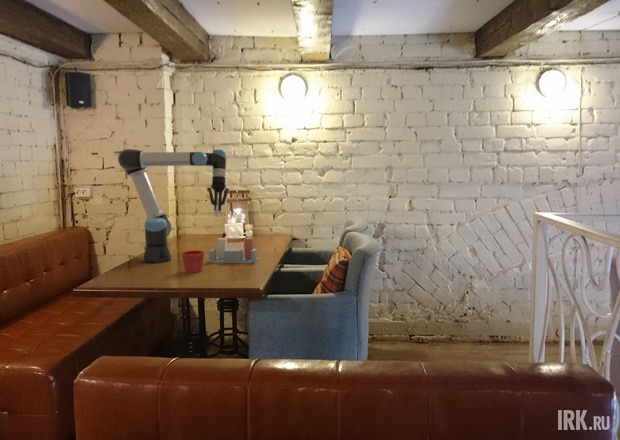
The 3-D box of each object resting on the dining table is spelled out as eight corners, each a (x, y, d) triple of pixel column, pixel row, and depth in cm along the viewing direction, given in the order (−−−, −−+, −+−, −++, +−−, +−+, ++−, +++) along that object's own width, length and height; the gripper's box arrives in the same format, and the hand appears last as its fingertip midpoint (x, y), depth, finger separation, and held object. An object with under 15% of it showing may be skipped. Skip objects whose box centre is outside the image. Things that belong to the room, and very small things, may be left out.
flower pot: (199, 273, 247) (198, 254, 246) (178, 273, 249) (178, 253, 248) (208, 269, 258) (207, 250, 256) (188, 268, 260) (187, 250, 259)
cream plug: (218, 258, 281) (217, 239, 280) (220, 257, 286) (219, 238, 284) (225, 258, 281) (225, 239, 280) (227, 257, 285) (227, 238, 284)
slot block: (209, 263, 274) (209, 251, 273) (215, 258, 286) (215, 247, 285) (254, 263, 272) (254, 250, 271) (259, 258, 284) (258, 247, 283)
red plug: (244, 258, 280) (244, 239, 279) (246, 257, 284) (245, 237, 283) (252, 258, 280) (251, 239, 278) (253, 257, 284) (253, 237, 283)
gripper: (206, 175, 292) (204, 216, 292) (227, 175, 290) (226, 216, 290) (210, 176, 299) (208, 216, 299) (231, 177, 298) (230, 217, 297)
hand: (217, 216), depth 294 cm, fingers closed
